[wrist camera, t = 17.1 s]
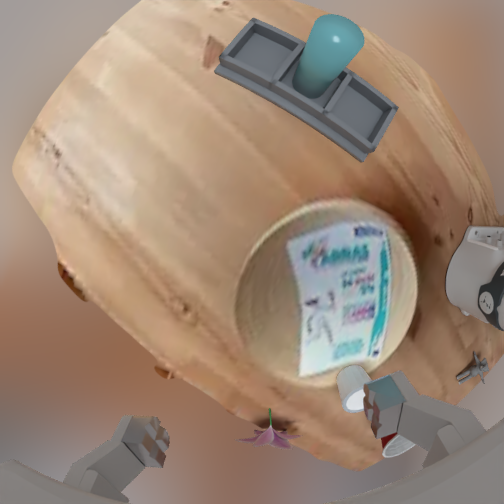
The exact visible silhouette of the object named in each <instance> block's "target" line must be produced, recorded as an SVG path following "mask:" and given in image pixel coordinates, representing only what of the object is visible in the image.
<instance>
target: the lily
mask: <svg viewBox="0 0 504 504" xmlns="http://www.w3.org/2000/svg"><path fill="white" fill-rule="evenodd" d="M269 415H270V427H269V428H268V429H267V430H265V431H264V432H262V431H258V430H254V433H255V435H258V436H256V437H252V438H248V439H236V441H239V442H244V443H254V444H253V446H254V447H257V446H263V445H267V444H269V445H271V446H273V447H276V448H281V449H293V447H292V446H291V444H290V443H289V441H288V440H287V439H294V438H298V437H301V436H303V435H287V431H282V432H278V431H276V430H274V429H273V428H272V421H271V410H270V408H269ZM261 433H262V434H261ZM259 434H261V435H259Z"/></svg>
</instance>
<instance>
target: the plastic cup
mask: <svg viewBox="0 0 504 504" xmlns="http://www.w3.org/2000/svg"><path fill="white" fill-rule="evenodd" d="M381 440H382V447H383V452H382V454H383V456H384V457H394V456H397V455H399V454H401V453H403V452H405V451H407V450H409V449H410V448H411V447H413V446H414V445H415V443H413V442H411V441H409V440H408V439H406V438H404V437H403V436H401V435H399V434H398V433H397V432H396V433H393V434H390V435H387V436H385V437H382V438H381Z"/></svg>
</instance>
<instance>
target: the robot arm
mask: <svg viewBox="0 0 504 504" xmlns="http://www.w3.org/2000/svg"><path fill="white" fill-rule="evenodd" d="M446 293H447V297H448V299H449V301H450V302H451V303H452V304H453V305H454V306H457V307H459V308H460V310H461V312H462V313H463V314H464V315H466V316H468V315H472V316H474V317H476V318H478V319H480V320H481V321H483V322H485V323H490V324H492V325H493V326H494V327H495V328H498V329H499V330H501V331H504V227H494V226H469V227H468V228H467V231H466V233H465V236H464V239H463V241H462V243H461V244H460V246H459V247H458V249H457V250H456V252H455V253H454V255H453V257H452V259H451V262H450V264H449V267H448V271H447V276H446ZM363 391H364V393H365V396H364V398H363V406H364V411H365V414H366V417H367V419H368V420H370V421H372V422H371V429H372V431H373V433H374V435H375V438H376V439H379V438H382V437H385V436H387V435H390V434H393V433H396V432H397V433H398V434H399V435H401V436H403V437H404V438H406V439H408V440H409V441H411V442H413V443H415V444H416V445H418V446H420V447H422V448H423V449H426V450H427V451H429V453H428V455H427V457H426V459H425V461H424V463H423V465H422V466H423V468H424V469H422V470H420V471H418V472H416V473H414V474H411V475H409V476H407V477H405V478H402V479H400V480H398V481H395V482H393V483H390V484H388V485H385V486H382V487H380V488H377V489H374V490H371V491H368V492H365V493H362V494H359V495H355V496H352V497H348V498H345V499H341V500H337V501H333V502H329V503H325V504H504V418H503V419H502V420H500V421H499V422H498V423H497V424H495V425H494V426H493V427H491V428H490V429H489V430H487V431H486V430H485V429H484V427H483V426H482V425H481V423H480V422H479V421H478V419H477V418H476V417H475V415H474V414H473V413H472V412H471V411H470V410H468V409H464V408H461V407H458V406H455V405H452V404H449V403H446V402H443V401H440V400H437V399H434V398H431V397H429V396H426V395H420V396H419V394H418V393H417V392H416V390H415V389H414V387H413V386H412V384H411V383H410V382H409V380H408V379H407V377H406V376H405V375H404V373H403V372H402V371H397V372H395V373H392V374H389V375H387V376H384V377H381V378H378V379H376V380H373V381H370V382H367V383H364V386H363ZM169 443H170V442H169V435H168V432H167V431H166V429H165V428H163V427H161V426H160V421H159V419H158V418H157V417H153V416H135V415H134V416H133V415H124V416H123V417H122V418H121V421H120V423H119V425H118V426H117V429H116V430H115V432H114V434H113V437H112V439H111V441H109V440H108V441H106V442H105V443H103V444H102V445H100V446H99V447H97V448H96V449H94V450H93V451H91V452H90V453H88V454H87V455H85V456H84V457H82V458H81V459H79V460H78V461H76V462H75V463H73V464H72V466H71V468H70V470H69V472H68V473H67V475H66V477H65V479H64V481H63V483H62V482H60V481H57V480H55V479H53V478H51V477H48V476H46V475H44V474H42V473H40V472H38V471H36V470H33V469H32V468H30V467H28V466H26V465H24V464H22V463H20V462H19V461H16V460H9V461H6V462H3V463H1V464H0V504H129V503H128V502H129V499H128V498H127V497H126V496H125V495H123V494H122V493H121V491H122V490H123V489H124V488H125V487H126V486H127V485H128V484H129V483H130V482H132V481H133V480H134V479H135V478H136V477H137V476H138V475H139V474H140V473H141V471H143V469H145V467H158V468H163V465H164V461H165V458H166V455H165V453H164V451H166V450H167V449H168V447H169Z"/></svg>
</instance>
